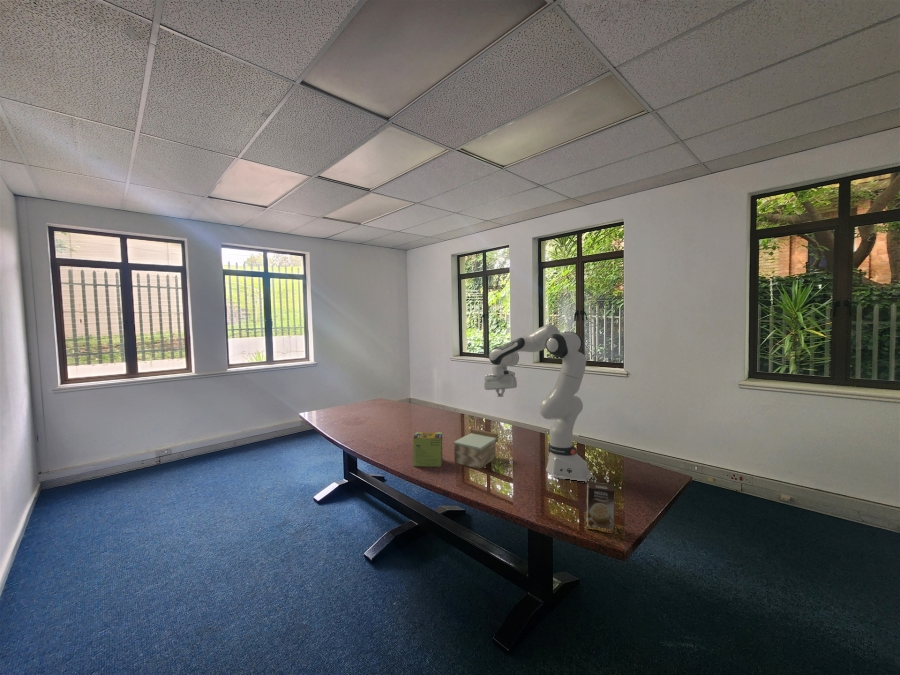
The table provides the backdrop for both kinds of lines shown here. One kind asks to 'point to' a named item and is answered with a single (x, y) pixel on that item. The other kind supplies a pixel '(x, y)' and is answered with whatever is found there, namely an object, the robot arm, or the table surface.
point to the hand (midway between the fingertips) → (500, 396)
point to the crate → (474, 455)
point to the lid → (477, 439)
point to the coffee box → (600, 505)
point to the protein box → (427, 449)
